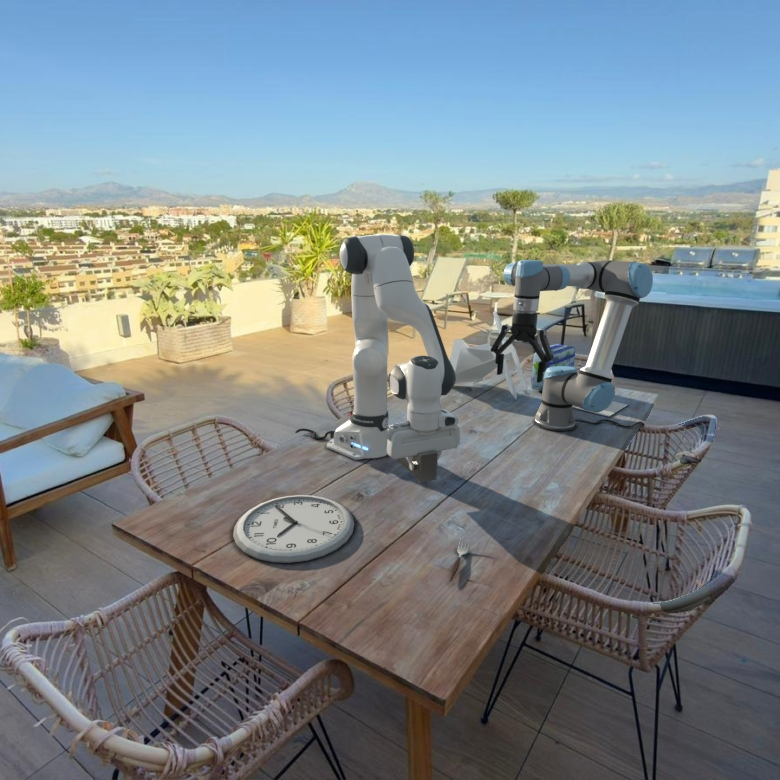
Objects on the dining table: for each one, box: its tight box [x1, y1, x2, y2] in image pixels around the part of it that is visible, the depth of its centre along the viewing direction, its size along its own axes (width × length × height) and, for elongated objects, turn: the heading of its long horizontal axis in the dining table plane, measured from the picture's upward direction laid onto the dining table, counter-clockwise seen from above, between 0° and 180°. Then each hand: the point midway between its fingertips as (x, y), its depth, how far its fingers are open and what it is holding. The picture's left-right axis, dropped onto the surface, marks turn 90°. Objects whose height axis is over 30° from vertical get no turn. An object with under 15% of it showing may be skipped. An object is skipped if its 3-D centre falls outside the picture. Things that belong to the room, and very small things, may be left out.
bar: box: [387, 424, 438, 484], centre depth 147 cm, size 23×5×8 cm, turn 23°
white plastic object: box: [449, 310, 531, 400], centre depth 245 cm, size 37×45×31 cm
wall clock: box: [232, 494, 355, 564], centre depth 132 cm, size 30×2×30 cm
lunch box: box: [530, 343, 576, 392], centre depth 248 cm, size 26×11×21 cm, turn 134°
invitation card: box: [573, 400, 629, 418], centre depth 226 cm, size 21×1×15 cm
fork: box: [449, 535, 471, 582], centre depth 119 cm, size 3×16×2 cm, turn 160°
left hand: (423, 467), depth 140 cm, fingers closed on bar, 5 cm apart
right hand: (519, 377), depth 168 cm, fingers open, 13 cm apart
